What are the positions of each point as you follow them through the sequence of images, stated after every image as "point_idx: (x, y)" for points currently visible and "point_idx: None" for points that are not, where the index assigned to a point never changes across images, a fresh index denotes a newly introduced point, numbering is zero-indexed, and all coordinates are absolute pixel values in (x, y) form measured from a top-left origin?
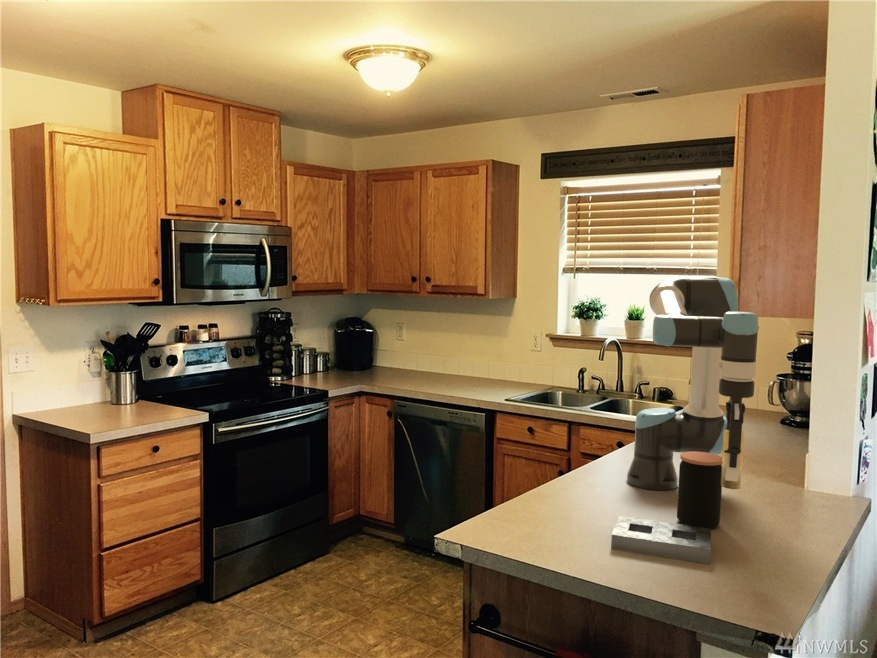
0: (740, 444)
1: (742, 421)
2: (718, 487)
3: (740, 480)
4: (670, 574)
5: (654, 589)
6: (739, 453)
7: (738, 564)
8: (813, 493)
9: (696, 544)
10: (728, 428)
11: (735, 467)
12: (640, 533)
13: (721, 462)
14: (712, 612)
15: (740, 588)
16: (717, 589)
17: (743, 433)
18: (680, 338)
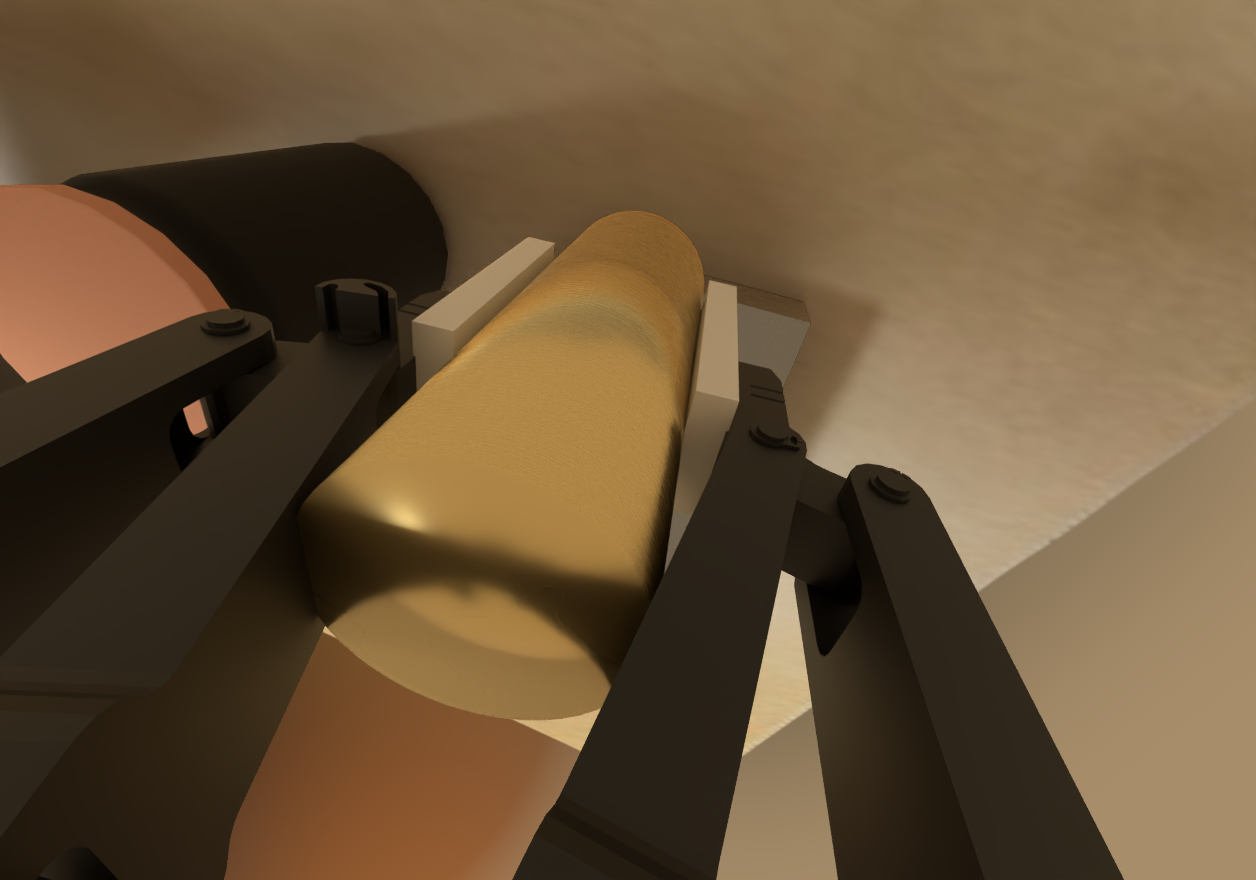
0: (963, 577)
1: None
2: (292, 205)
3: (673, 243)
4: (889, 450)
5: (997, 516)
6: (719, 398)
7: (799, 182)
8: None
9: (759, 364)
10: (311, 643)
11: (769, 377)
12: (673, 514)
13: (128, 220)
14: (1211, 403)
15: (1040, 247)
16: (1032, 337)
17: (566, 507)
18: None
